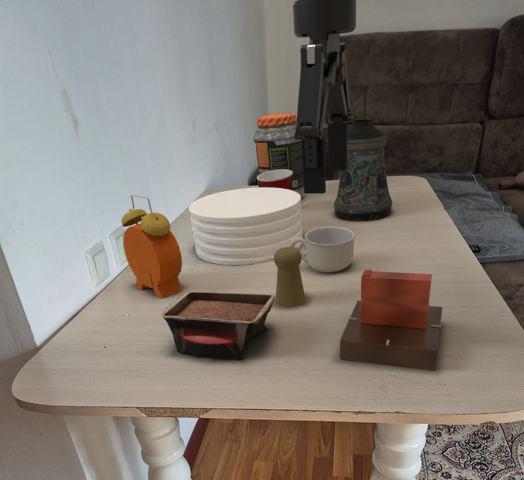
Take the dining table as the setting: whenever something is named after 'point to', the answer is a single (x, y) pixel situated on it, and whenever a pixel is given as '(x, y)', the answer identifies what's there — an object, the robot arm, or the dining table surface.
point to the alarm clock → (152, 251)
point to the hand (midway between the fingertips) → (327, 180)
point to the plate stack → (245, 224)
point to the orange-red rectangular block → (395, 299)
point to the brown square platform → (392, 342)
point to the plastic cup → (276, 179)
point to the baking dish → (217, 322)
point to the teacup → (327, 248)
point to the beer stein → (363, 176)
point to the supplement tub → (279, 148)
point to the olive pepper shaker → (289, 277)
